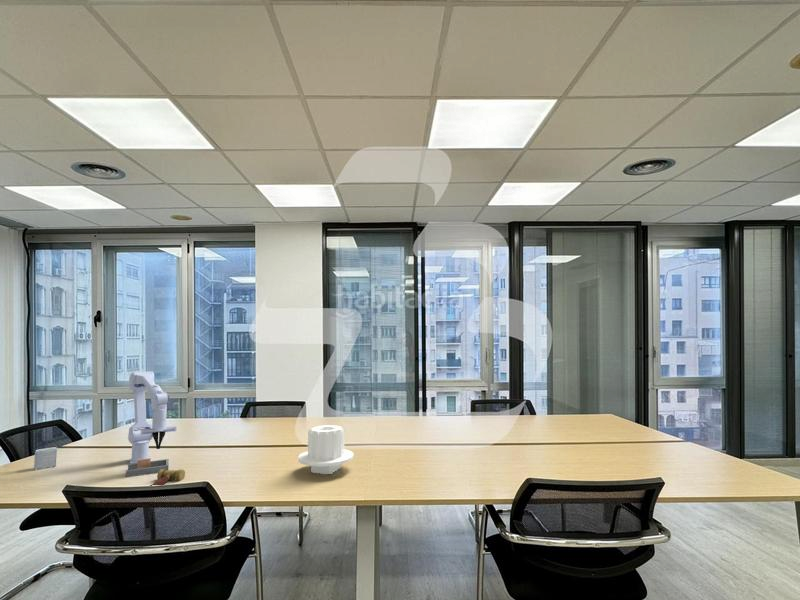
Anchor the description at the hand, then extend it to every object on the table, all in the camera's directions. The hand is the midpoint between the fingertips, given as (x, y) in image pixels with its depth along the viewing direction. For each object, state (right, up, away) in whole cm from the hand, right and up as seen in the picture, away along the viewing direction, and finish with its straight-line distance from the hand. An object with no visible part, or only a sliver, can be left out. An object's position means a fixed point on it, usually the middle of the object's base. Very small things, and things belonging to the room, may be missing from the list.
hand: (158, 448), depth 197 cm
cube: (-5, -9, -3) cm, 11 cm away
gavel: (+14, -8, -24) cm, 29 cm away
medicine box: (-56, -10, +3) cm, 57 cm away
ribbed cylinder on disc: (+80, -9, -5) cm, 80 cm away
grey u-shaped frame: (-3, -9, -3) cm, 10 cm away
